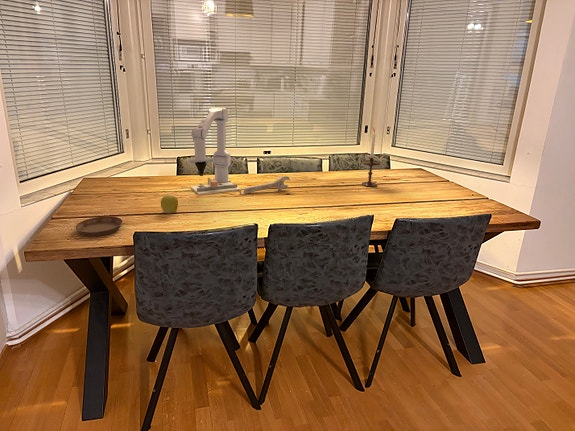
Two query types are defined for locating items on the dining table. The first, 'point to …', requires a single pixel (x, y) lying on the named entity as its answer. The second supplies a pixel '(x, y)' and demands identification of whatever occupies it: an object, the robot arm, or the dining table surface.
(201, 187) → the bar
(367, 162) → the candlestick
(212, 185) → the leg
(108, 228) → the plant saucer
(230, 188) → the hole plate
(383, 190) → the dining table surface
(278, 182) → the wrench
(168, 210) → the apple
